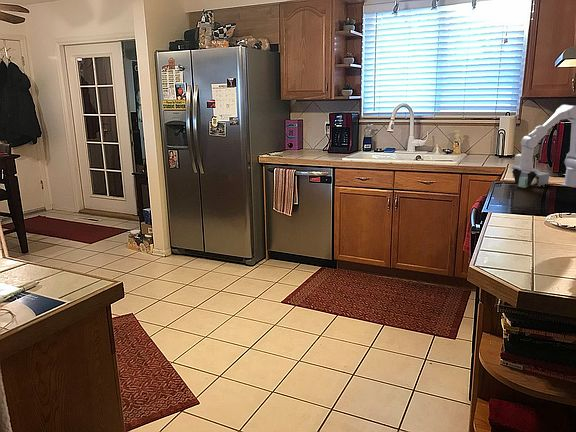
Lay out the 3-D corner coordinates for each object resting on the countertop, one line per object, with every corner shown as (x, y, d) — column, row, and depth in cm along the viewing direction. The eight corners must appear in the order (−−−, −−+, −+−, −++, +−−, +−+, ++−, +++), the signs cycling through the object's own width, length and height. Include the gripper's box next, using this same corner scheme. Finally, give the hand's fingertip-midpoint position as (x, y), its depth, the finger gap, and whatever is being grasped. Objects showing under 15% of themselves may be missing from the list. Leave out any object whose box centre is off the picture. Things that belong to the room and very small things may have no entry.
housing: (524, 179, 273) (525, 169, 271) (547, 184, 261) (549, 173, 260) (514, 181, 268) (516, 170, 266) (538, 186, 257) (540, 175, 255)
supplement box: (529, 176, 281) (532, 154, 277) (525, 178, 276) (528, 156, 272) (516, 174, 286) (519, 153, 282) (511, 176, 280) (514, 155, 277)
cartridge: (531, 183, 261) (532, 174, 260) (537, 184, 258) (539, 175, 257) (517, 186, 255) (519, 177, 253) (524, 187, 252) (525, 178, 250)
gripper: (509, 158, 253) (505, 183, 257) (535, 162, 242) (531, 188, 246) (517, 156, 257) (513, 181, 261) (543, 160, 245) (539, 186, 249)
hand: (522, 184), depth 254 cm, fingers open, 6 cm apart
